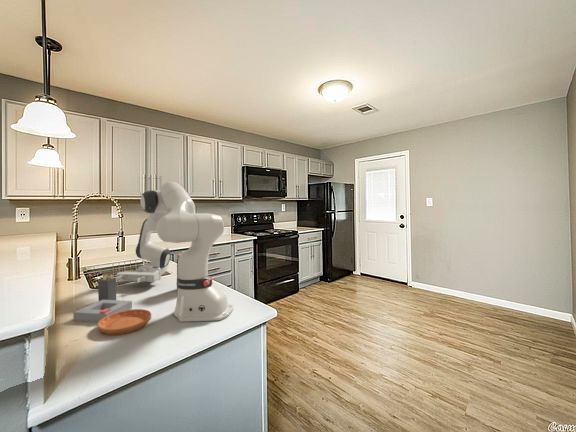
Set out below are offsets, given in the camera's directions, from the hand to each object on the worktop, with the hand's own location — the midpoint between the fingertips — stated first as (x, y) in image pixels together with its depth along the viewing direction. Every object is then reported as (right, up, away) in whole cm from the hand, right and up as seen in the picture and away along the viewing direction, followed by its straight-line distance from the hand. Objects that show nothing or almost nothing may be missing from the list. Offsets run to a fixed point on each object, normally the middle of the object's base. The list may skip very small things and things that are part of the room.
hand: (127, 280), depth 124 cm
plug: (-1, -6, -12) cm, 14 cm away
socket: (+7, -7, -25) cm, 26 cm away
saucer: (+21, -8, -34) cm, 41 cm away
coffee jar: (+28, -6, +5) cm, 29 cm away
